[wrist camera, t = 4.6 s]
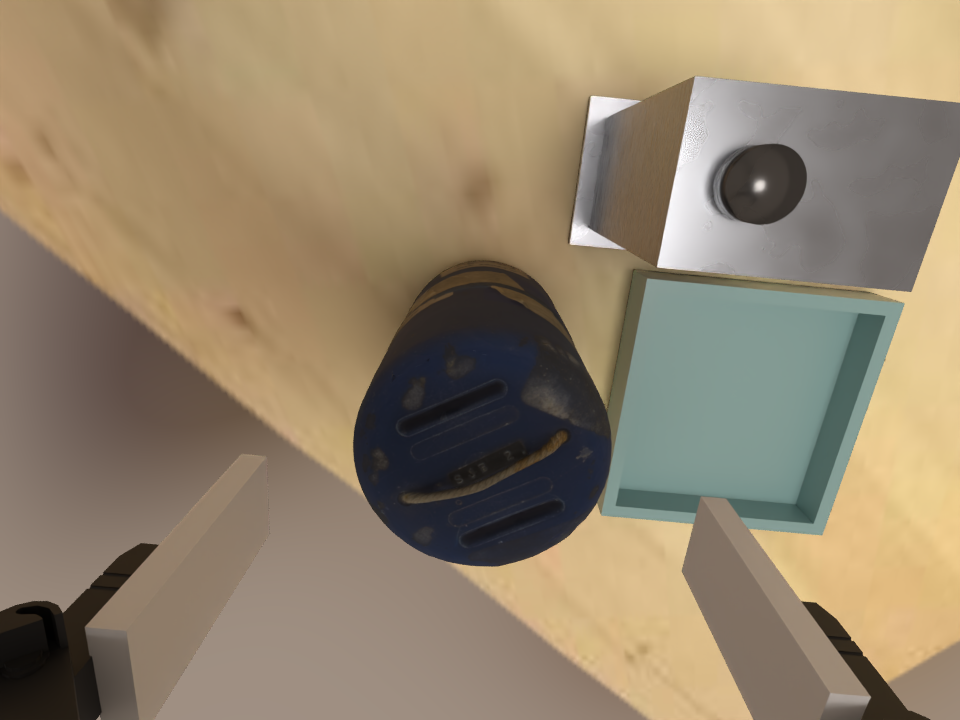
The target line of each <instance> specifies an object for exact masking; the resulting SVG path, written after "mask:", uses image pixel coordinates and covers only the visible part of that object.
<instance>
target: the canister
mask: <svg viewBox="0 0 960 720" xmlns="http://www.w3.org/2000/svg"><path fill="white" fill-rule="evenodd" d="M353 452H354V462H355V468H356V472H357V476H358V480H359V483H360V485H361V488H362V490H363V492H364V495H365V497H366V499H367V500H368V502H369V504H370V506H371V507H372V509H373V510H374V512H375V513H376V514H377V515H378V516H379V518H380V519H381V520H382V521H383V522H384V524H386V526H387V527H388V528H389V529H390V530H391V531H392V532H393V533H395V534H396V535H397V536H398V537H400V538H401V539H402V540H403V541H405V542H406V543H407V544H409V545H410V546H412V547H414V548H415V549H417V550H419V551H421V552H423V553H425V554H427V555H429V556H432V557H435V558H438V559H441V560H444V561H447V562H452V563H457V564H463V565H470V566H502V565H506V564H510V563H514V562H517V561H521V560H524V559H527V558H530V557H533V556H535V555H537V554H539V553H541V552H543V551H545V550H547V549H549V548H551V547H552V546H554V545H556V544H558V543H559V542H561V541H562V540H564V539H565V538H567V537H568V536H569V535H570V534H571V533H572V532H573V531H574V530H575V529H576V527H577V526H578V525H579V524H580V523H581V522H583V521H584V520H585V519H586V517H587V516H588V515H589V513H590V512H591V511H592V509H593V508H594V507H595V505H596V503H597V501H598V499H599V497H600V495H601V493H602V491H603V489H604V487H605V484H606V481H607V478H608V475H609V470H610V463H611V452H612V441H611V429H610V423H609V419H608V415H607V412H606V409H605V406H604V404H603V401H602V399H601V397H600V394H599V392H598V390H597V388H596V386H595V384H594V382H593V380H592V378H591V376H590V375H589V373H588V371H587V369H586V367H585V366H584V364H583V362H582V359H581V357H580V356H579V354H578V352H577V350H576V348H575V346H574V343H573V341H572V338H571V336H570V334H569V332H568V330H567V328H566V326H565V324H564V322H563V321H562V319H561V317H560V315H559V314H558V312H557V310H556V309H555V307H554V304H553V302H552V301H551V299H550V297H549V296H548V294H547V293H546V292H545V290H544V289H543V288H542V287H541V286H540V285H539V284H538V283H537V282H536V281H535V280H534V279H533V278H531V277H530V276H529V275H527V274H526V273H524V272H523V271H521V270H519V269H517V268H514V267H512V266H509V265H506V264H502V263H498V262H492V261H473V262H467V263H463V264H460V265H457V266H454V267H452V268H450V269H447V270H446V271H444V272H442V273H441V274H439V275H438V276H437V277H435V278H434V279H433V280H432V281H431V282H430V283H429V284H428V285H427V286H426V287H425V288H424V289H423V290H422V291H421V293H420V294H419V296H418V297H417V299H416V301H415V302H414V304H413V306H412V307H411V309H410V311H409V313H408V314H407V316H406V318H405V320H404V322H403V323H402V324H401V326H400V328H399V329H398V331H397V333H396V334H395V336H394V338H393V340H392V342H391V344H390V346H389V348H388V350H387V353H386V354H385V356H384V358H383V360H382V362H381V364H380V366H379V368H378V370H377V372H376V374H375V375H374V377H373V379H372V382H371V384H370V386H369V388H368V390H367V392H366V395H365V397H364V399H363V401H362V404H361V406H360V409H359V412H358V416H357V419H356V424H355V429H354V440H353Z"/></svg>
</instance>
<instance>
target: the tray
mask: <svg viewBox="0 0 960 720" xmlns="http://www.w3.org/2000/svg"><path fill="white" fill-rule="evenodd" d="M904 304H905V303H902V302H899V301H896V300H893V299H889V298H886V297H883V296H880V295H877V294H874V293H870V292H862V291H852V290H841V289H831V288H821V287H810V286H800V285H789V284H779V283H769V282H758V281H748V280H737V279H727V278H717V277H706V276H696V275H686V274H675V273H665V272H654V271H644V270H634V271H633V277H632V282H631V288H630V293H629V298H628V304H627V309H626V315H625V320H624V325H623V331H622V336H621V341H620V347H619V352H618V358H617V363H616V368H615V374H614V379H613V385H612V390H611V395H610V401H609V406H608V411H607V415H608V419H609V423H610V429H611V441H612V452H611V463H610V470H609V475H608V478H607V481H606V484H605V487H604V489H603V491H602V493H601V495H600V497H599V499H598V501H597V504H598V507H599V510H600V513H601V515H602V516H613V517H624V518H635V519H646V520H657V521H669V522H680V523H691V524H694V521H695V517H696V513H697V509H698V506H699V502H700V498H701V496H703V497H714V498H725V499H727V501H728V502H729V503H730V505H731V506H732V508H733V509H734V510H735V512H736V513H737V514H738V516H739V517H740V518H741V520H742V521H743V523H744V524H745V525H746V527H747V528H748V529H758V530H769V531H780V532H791V533H802V534H813V535H822V534H823V532H824V529H825V526H826V523H827V520H828V518H829V515H830V512H831V509H832V506H833V503H834V501H835V498H836V495H837V492H838V489H839V487H840V484H841V481H842V478H843V475H844V473H845V470H846V467H847V464H848V461H849V459H850V456H851V453H852V450H853V447H854V444H855V442H856V439H857V436H858V433H859V430H860V428H861V425H862V422H863V419H864V416H865V414H866V411H867V408H868V405H869V402H870V400H871V397H872V394H873V391H874V388H875V385H876V383H877V380H878V377H879V374H880V371H881V369H882V366H883V363H884V360H885V357H886V355H887V352H888V349H889V346H890V343H891V341H892V338H893V335H894V332H895V329H896V327H897V324H898V321H899V318H900V315H901V312H902V310H903V307H904Z"/></svg>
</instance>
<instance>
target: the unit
mask: <svg viewBox="0 0 960 720" xmlns="http://www.w3.org/2000/svg"><path fill="white" fill-rule="evenodd" d="M959 157H960V103H956V102H946V101H936V100H926V99H916V98H907V97H897V96H887V95H877V94H867V93H857V92H847V91H838V90H828V89H818V88H808V87H798V86H788V85H778V84H769V83H759V82H749V81H739V80H729V79H719V78H709V77H700V76H694V77H692V78H690V79H688V80H686V81H683V82H681V83H679V84H677V85H675V86H673V87H671V88H668V89H666V90H664V91H662V92H660V93H658V94H656V95H653V96H651V97H649V98H647V99H645V100H643V101H639V100H629V99H619V98H609V97H599V96H590V97H589V103H588V110H587V117H586V124H585V131H584V138H583V145H582V152H581V159H580V166H579V173H578V180H577V187H576V194H575V200H574V207H573V214H572V221H571V228H570V235H569V242H568V243H569V244H572V245H582V246H593V247H603V248H613V249H624V250H627V251H629V252H631V253H633V254H634V255H636V256H638V257H640V258H641V259H643V260H645V261H647V262H648V263H650V264H652V265H654V266H655V267H658V268H668V269H679V270H689V271H700V272H710V273H720V274H731V275H741V276H751V277H762V278H772V279H783V280H793V281H803V282H814V283H824V284H834V285H845V286H855V287H866V288H876V289H886V290H897V291H907V292H911V291H912V289H913V286H914V283H915V280H916V277H917V275H918V272H919V269H920V266H921V263H922V261H923V258H924V255H925V252H926V249H927V247H928V244H929V241H930V238H931V235H932V233H933V230H934V227H935V224H936V221H937V219H938V216H939V213H940V210H941V208H942V205H943V202H944V199H945V196H946V194H947V191H948V188H949V185H950V182H951V180H952V177H953V174H954V171H955V168H956V166H957V163H958V160H959Z"/></svg>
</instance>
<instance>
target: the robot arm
mask: <svg viewBox="0 0 960 720" xmlns="http://www.w3.org/2000/svg"><path fill="white" fill-rule="evenodd" d="M269 534H270V527H269V499H268V472H267V456H259V455H248V454H241V455H240V456H239V457H238V458H237V459H236V461H235V462H234V463H233V464H232V465H231V466H230V467H229V468H228V469H227V470H226V472H225V473H224V474H223V475H222V476H221V477H220V478H219V479H218V481H216V483H215V484H214V485H213V486H212V487H211V488H210V489H209V490H208V491H207V493H206V494H205V495H204V496H203V497H202V498H201V499H200V500H199V501H198V502H197V504H196V505H195V506H194V507H193V508H192V509H191V510H190V511H189V512H188V514H187V515H186V516H185V517H184V518H183V519H182V520H181V521H180V522H179V523H178V525H177V526H176V527H175V528H174V529H173V530H172V531H171V532H170V533H169V535H168V536H167V537H166V538H165V539H164V540H163V541H162V542H161V543H160V544H159V545H156V544H144V543H141V544H139V545H137V546H136V547H134V548H132V549H131V550H129V551H127V552H125V553H124V554H122V555H120V556H119V557H118V558H117V559H116V560H115V561H114V562H113V563H112V564H111V565H110V566H109V567H108V568H107V569H106V570H105V571H104V572H103V575H100V576H99V578H97V579H96V580H95V581H94V582H93V583H92V584H91V587H90V589H86V590H85V591H84V593H82V594H81V596H80V597H79V598H78V599H77V600H76V601H75V602H74V603H73V604H72V605H71V606H70V607H69V608H68V609H67V610H66V611H65V612H64V613H62V611H61V609H60V608H59V606H58V605H56V604H54V603H51V602H48V601H32V602H28V603H23V604H19V605H15V606H13V607H10V608H8V609H5V610H3V611H1V612H0V720H96V719H97V718H98V717H99V715H100V717H101V720H154V719H155V717H156V716H157V714H158V712H159V711H160V709H161V708H162V706H163V704H164V703H165V701H166V700H167V698H168V696H169V695H170V693H171V692H172V690H173V688H174V687H175V685H176V684H177V682H178V680H179V679H180V677H181V676H182V674H183V672H184V671H185V669H186V667H187V666H188V664H189V663H190V661H191V659H192V658H193V656H194V655H195V653H196V651H197V650H198V648H199V647H200V645H201V643H202V642H203V640H204V638H205V637H206V635H207V634H208V632H209V631H210V629H211V627H212V626H213V624H214V622H215V621H216V619H217V618H218V616H219V614H220V613H221V611H222V609H223V608H224V606H225V605H226V603H227V602H228V600H229V598H230V597H231V595H232V594H233V592H234V590H235V589H236V587H237V585H238V584H239V582H240V581H241V579H242V577H243V576H244V574H245V573H246V571H247V569H248V568H249V566H250V565H251V563H252V561H253V560H254V558H255V557H256V555H257V553H258V552H259V550H260V548H261V547H262V545H263V544H264V542H265V541H266V539H267V537H268V536H269ZM682 573H683V575H684V577H685V579H686V581H687V583H688V585H689V587H690V589H691V591H692V593H693V595H694V598H695V600H696V602H697V604H698V606H699V608H700V610H701V612H702V614H703V616H704V618H705V620H706V622H707V624H708V626H709V629H710V631H711V633H712V635H713V637H714V639H715V641H716V643H717V645H718V647H719V649H720V651H721V653H722V655H723V657H724V660H725V662H726V664H727V666H728V668H729V670H730V672H731V674H732V676H733V678H734V680H735V682H736V684H737V686H738V688H739V691H740V693H741V695H742V697H743V699H744V701H745V703H746V705H747V707H748V709H749V711H750V713H751V715H752V717H753V719H754V720H930V719H928V718H926V717H924V716H922V715H919V714H917V713H915V712H912V711H908V710H907V709H906V708H905V706H904V705H903V704H902V702H901V701H900V700H899V698H898V697H897V696H896V695H895V693H894V692H893V691H892V689H891V688H890V687H889V686H888V684H887V683H886V682H885V681H884V679H883V678H882V677H881V675H880V674H879V673H878V672H877V670H876V669H875V668H874V666H873V665H872V664H871V663H870V661H869V660H868V659H867V657H864V656H863V652H862V651H861V650H860V649H859V647H858V646H857V645H856V643H855V642H854V641H851V637H850V636H849V634H848V633H847V632H846V631H845V629H844V628H843V627H842V626H841V624H840V623H839V622H838V620H837V619H836V618H834V617H833V616H832V615H831V614H829V613H828V612H827V611H826V610H824V609H823V608H822V607H821V606H819V605H818V604H817V603H813V602H802V601H800V599H799V598H798V596H797V595H796V594H795V592H794V591H793V590H792V588H791V587H790V586H789V584H788V583H787V581H786V580H785V579H784V577H783V576H782V575H781V573H780V572H779V570H778V569H777V568H776V566H775V565H774V564H773V562H772V561H771V560H770V558H769V557H768V555H767V554H766V553H765V551H764V550H763V549H762V547H761V546H760V544H759V543H758V542H757V540H756V539H755V538H754V536H753V535H752V534H751V532H750V531H749V529H748V528H747V527H746V525H745V524H744V523H743V521H742V520H741V518H740V517H739V516H738V514H737V513H736V512H735V510H734V509H733V508H732V506H731V505H730V503H729V502H728V501H727V499H725V498H714V497H703V496H701V498H700V502H699V506H698V509H697V513H696V517H695V521H694V525H693V529H692V533H691V537H690V541H689V545H688V548H687V552H686V556H685V560H684V564H683V568H682Z"/></svg>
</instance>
